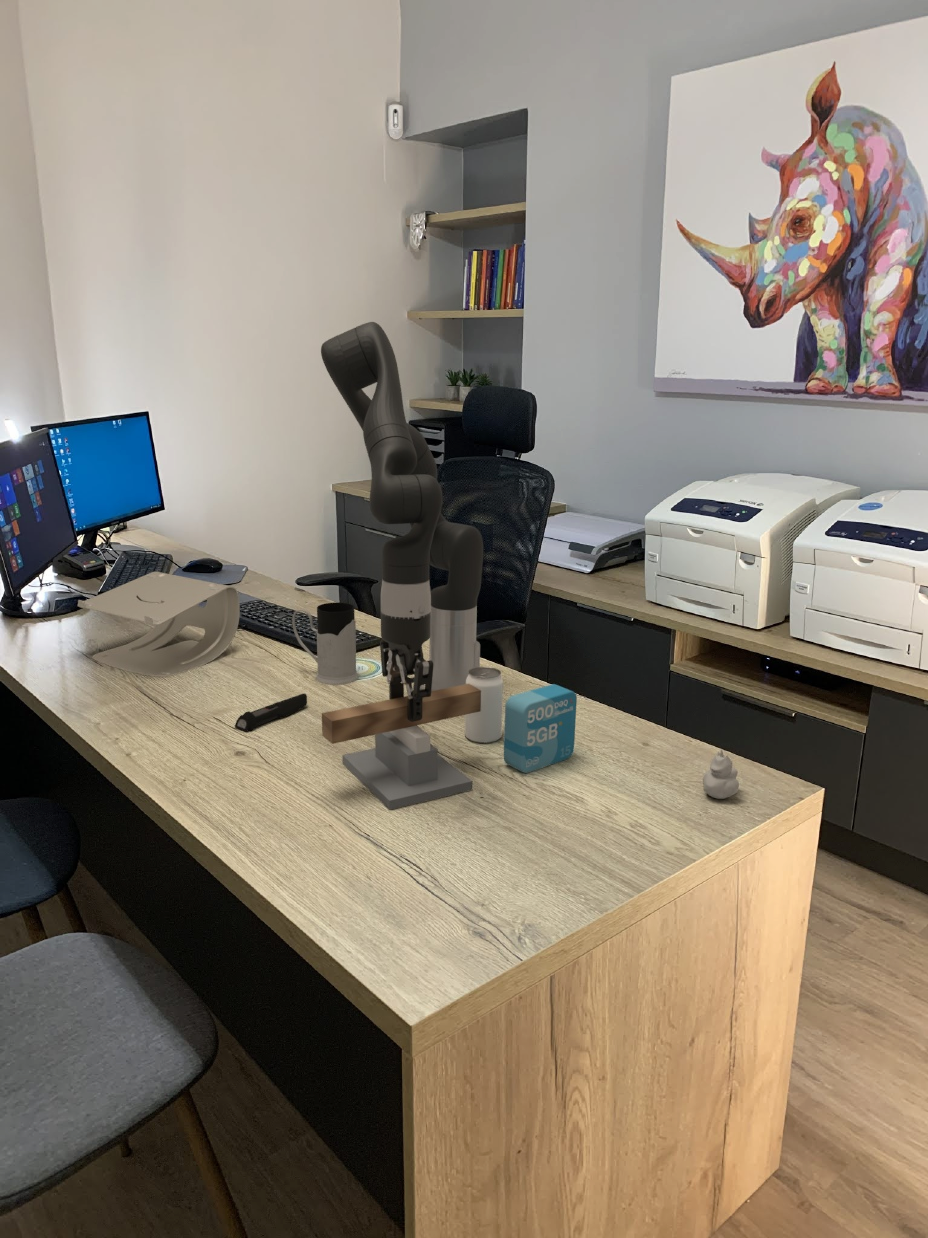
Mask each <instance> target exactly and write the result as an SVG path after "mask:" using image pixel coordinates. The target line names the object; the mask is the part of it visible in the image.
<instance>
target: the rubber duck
mask: <svg viewBox="0 0 928 1238" xmlns="http://www.w3.org/2000/svg"><path fill="white" fill-rule="evenodd" d="M709 765H710V766H709V770H707V771H706V772H705V773H704V774H703V775H702V776H703V777H702V785H703V791H704V792H705V793H706V794H707V795H708V796H710V797H711V798H714V799H718V800H725V799H727V798H729V797H732V796H734V795H735V794H737V793H738V791H739V787H740V783H739V781H738V779H736V778H737V776H738V769H736V768H735V767H733V761H732V759H731V758H730V756H729V755H728V754H726V755H724V752H723V749H720V751H717V753H715V755H714V756H713V757H712V759H711V761H710V764H709Z"/></svg>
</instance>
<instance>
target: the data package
mask: <svg viewBox="0 0 928 1238" xmlns="http://www.w3.org/2000/svg"><path fill="white" fill-rule="evenodd" d="M577 699H578V696H577V693H576V692H575V691H573V690H570V689H568V688H565V687H563V686H560V685H558V684H555V683H552V684H549V685H545V686H541V687H537V688H535V689H531V690H528V691H527V690H526V691H524V692H520V693H517V694H514V695H511V696H510V697H508V699H507V700H506V703H505V705H504V706H505V708H504V733H503V761H504V763H505V764H507V765H509V766H510V767H513V768H514V769H516V770H519V771H520V772H522V773H525V774H530V773H531V772H534V771H537V770H541V769H542V768H546V767H548V766H550V765H554V764H557V763H559V762H563V761H565V760H569V758H570V757H571V756H573V753H574V750H575V738H576V737H575V736H576V721H577V720H576V719H577V718H576V717H577V704H578V703H577V702H578V701H577ZM545 766H546V767H545Z"/></svg>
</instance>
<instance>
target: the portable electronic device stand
mask: <svg viewBox="0 0 928 1238" xmlns="http://www.w3.org/2000/svg"><path fill="white" fill-rule="evenodd" d="M238 592H239V591H237V589H236V587H234V586H231V585H226V584H222V583H216V582H211V581H208V580H207V581H206V580H203V579H196V578H190V577H187V576H181V575H174V574H171V573H170V574H169V573H166V572H160V571H151V572H149V573H147V574H144V575H143V576H140V577H138V578H135V579H133V580H131V581H129V582H128V581H127V583H124V584H121V585H119V586H117V587H114V588H112V589H110V590H107V591H105V592H103V593H100V594H98V595H96V596H95V595H94V596H93V597H91V598H88V599H85V600H82V599H78V600H77V607H79V608H82V609H87V610H91V611H95V612H98V613H103V614H107V615H112V616H115V617H118V618H119V617H120V618H122V619H123V618H124V619H127V620H132V621H135V622H141V623H144V624H147V625H153V626H154V627H153V628H152V629H150V630H149V631H148V632H147V633H146V634H144V635H143V636H141V637H139V638H137V639H135V640H133V641H130V642H129V643H127V644H124V645H120V646H117V647H113V648H110V649H107V650H104V651H103V650H102V651H101V652H98V653H95V654H93V655H92V659H93V660H94V661H96V662H99V663H100V664H103V665H106V666H110V667H112V668H115V669H118V670H122V671H125V672H129V673H133V674H134V673H135V674H138V675H144V676H150V677H154V678H155V677H156V678H167V677H172V676H176V675H179V674H182V673H185V672H187V671H191V670H194V669H197V668H200V667H203V666H204V665H205V666H206V664H208V663H210V662H212V661H213V660H216V659H217V658H218V657H220V655H222V654H223V653H224V652H225V651H226V650H227V649H228V648H229V647H230V645H231V644H232V642H233V641H234V638H235V637H236V633H237V631H238V628H239V627H238V626H239V622H240V614H241V613H240V612H241V611H240V609H241V608H240V607H241V606H240V598H239V597H240V595H239V593H238ZM205 601H206V604H205V605H204V606H200V605H199V604H201V603H204V602H205ZM188 626H189V627H190V626H191V627H195V628H198V629H203V630H204V635H203V637H202V638H201V639H200V641H196V640H193V639H191V640H184V641H180V642H178V643H173V644H171V645H167V644H168V643H170V642H171V641H172V640H174V639H175V638H176V637H177V636H178V635H179V634H180V633H181V632H182V631H183V629H184V628H185V627H188ZM165 645H167V646H165ZM164 646H165V647H164Z"/></svg>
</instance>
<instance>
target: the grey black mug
mask: <svg viewBox="0 0 928 1238" xmlns="http://www.w3.org/2000/svg"><path fill="white" fill-rule="evenodd" d="M299 612H304V613H305V614H306V615H307V617H308V618H309V623H310V624H309V625H310V628H311V630H312V631H313V632H314V633H316V652H317V653H316V655H315V654H314V653H313V652H312V651H311V650H310V649H309V648H308V647H307V646H306V645H305V644H304V643H303V641H302V640H301V638H300V635H299V633H298V630H297V627H296V614H297V613H299ZM316 617H317V618H316V621H317V623H316V624H317V629H316V628H315V627H314V620H313V617H312V614H311V613H310V612H309V611H308V610H307V609H304V608H300V609H297V610H296V611H294V612H293V614H292V620H291V621H292V629H293V632H294V635H295V638H296V640H297V642H298V644H299V645H300V646H301V648H303V649H304V650H305V652H306V653H308V655H309V656H310V657H311V658H313V659H314V660H315V662H316V663H317V674H316V676H315V680H316V681H317V682H319V683H320V682H321V684H325V685H329V684H330V686H331V685H332V686H333V685H334V686H336V685H337V686H340V685H341V686H342V685H348V684H351V682H352V683H354V682H357V680H359V674H358V671H357V647H356V646H357V643H356V642H357V641H356V639H357V635H356V634H357V631H356V626H357V625H356V620H355V617H356V616H355V606H354V605H353V604H351V603H348V602H346V603H345V602H326V603H321V604H320V605H317V607H316Z"/></svg>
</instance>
